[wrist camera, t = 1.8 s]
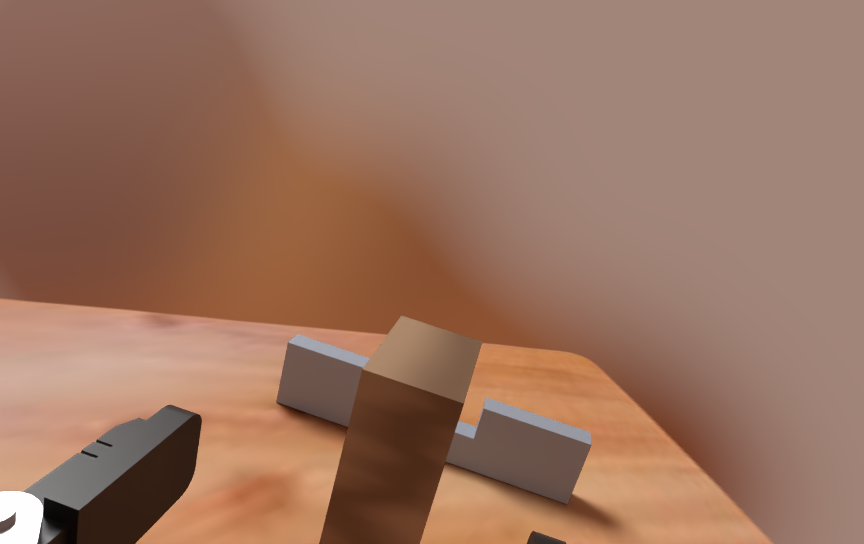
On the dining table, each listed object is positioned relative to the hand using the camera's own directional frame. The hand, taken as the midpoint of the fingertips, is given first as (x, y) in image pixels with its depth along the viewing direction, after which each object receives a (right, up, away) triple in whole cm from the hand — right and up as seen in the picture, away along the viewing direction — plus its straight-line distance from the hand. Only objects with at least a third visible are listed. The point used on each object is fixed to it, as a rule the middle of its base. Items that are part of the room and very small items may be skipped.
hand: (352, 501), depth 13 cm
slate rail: (+1, -7, +29) cm, 30 cm away
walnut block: (-2, -11, +15) cm, 19 cm away
